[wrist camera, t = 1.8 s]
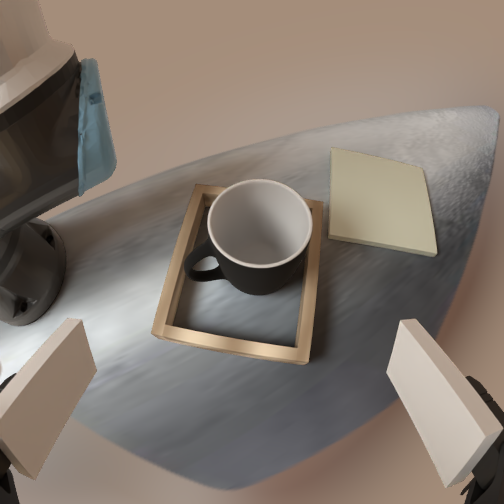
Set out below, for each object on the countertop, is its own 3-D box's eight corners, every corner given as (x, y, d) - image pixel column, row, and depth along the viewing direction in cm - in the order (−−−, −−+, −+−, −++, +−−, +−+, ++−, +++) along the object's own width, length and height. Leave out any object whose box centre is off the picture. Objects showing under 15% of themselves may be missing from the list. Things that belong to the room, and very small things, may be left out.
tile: (327, 238, 37) (329, 234, 36) (330, 151, 43) (331, 147, 42) (433, 257, 36) (437, 253, 35) (419, 172, 42) (422, 168, 41)
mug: (277, 223, 37) (285, 167, 28) (310, 288, 34) (332, 245, 25) (182, 256, 35) (161, 206, 26) (207, 328, 32) (190, 298, 23)
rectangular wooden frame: (158, 338, 31) (150, 333, 28) (198, 197, 39) (195, 183, 37) (303, 365, 30) (308, 362, 27) (318, 214, 38) (323, 201, 36)
